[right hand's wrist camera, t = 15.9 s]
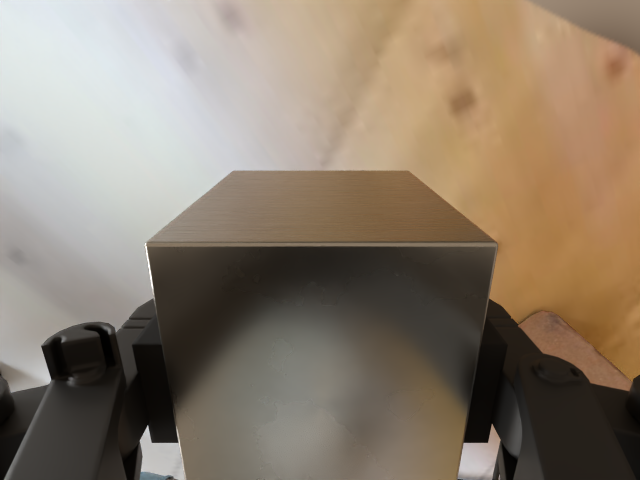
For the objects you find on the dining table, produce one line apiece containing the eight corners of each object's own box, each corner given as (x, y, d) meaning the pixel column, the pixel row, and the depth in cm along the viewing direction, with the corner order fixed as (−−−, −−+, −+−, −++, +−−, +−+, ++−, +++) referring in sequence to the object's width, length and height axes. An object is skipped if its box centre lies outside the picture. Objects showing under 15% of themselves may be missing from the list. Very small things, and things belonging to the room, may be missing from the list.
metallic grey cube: (409, 170, 13) (500, 242, 7) (394, 344, 16) (450, 524, 9) (232, 170, 13) (142, 242, 7) (246, 344, 16) (191, 524, 9)
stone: (628, 393, 56) (891, 645, 30) (562, 433, 59) (749, 696, 33) (545, 300, 52) (767, 500, 25) (478, 348, 55) (615, 573, 28)
